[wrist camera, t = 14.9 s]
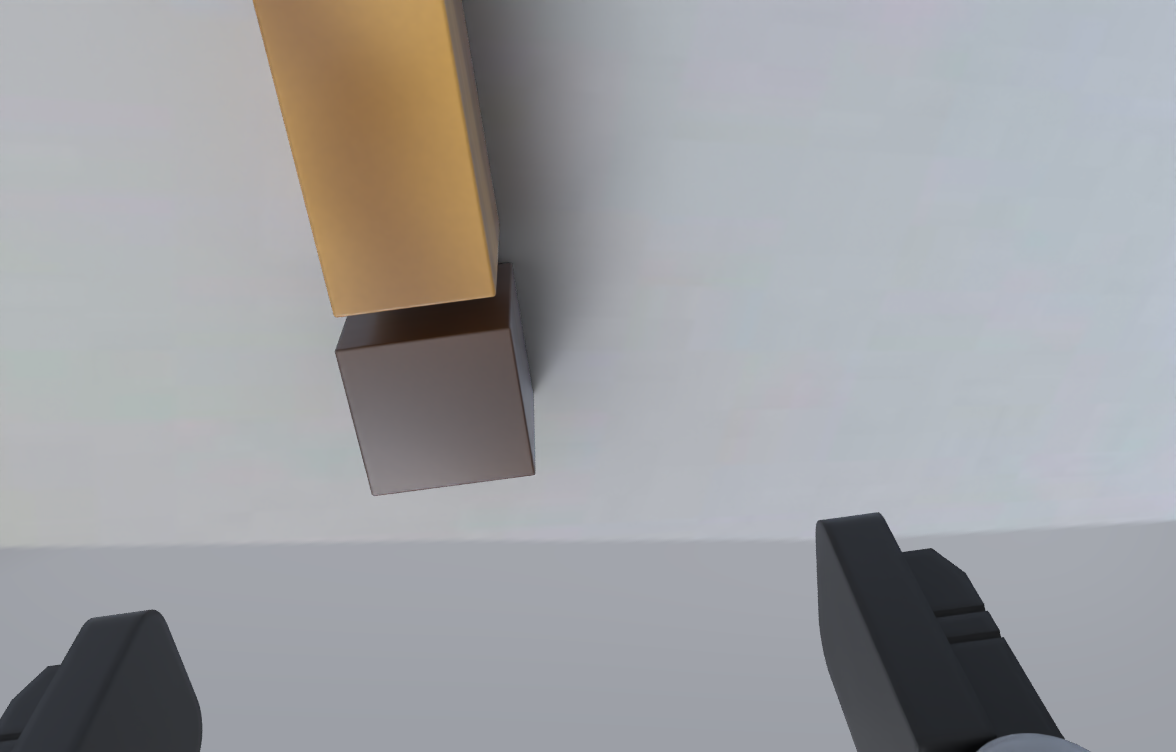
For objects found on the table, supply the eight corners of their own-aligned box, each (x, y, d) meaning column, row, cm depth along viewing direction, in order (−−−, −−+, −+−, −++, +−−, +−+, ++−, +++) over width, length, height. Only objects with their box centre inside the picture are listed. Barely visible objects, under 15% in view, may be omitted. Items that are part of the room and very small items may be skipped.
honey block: (449, -75, 26) (435, -53, 22) (500, 227, 30) (496, 297, 26) (291, -54, 26) (244, -28, 22) (361, 245, 30) (334, 319, 26)
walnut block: (534, 396, 33) (535, 475, 29) (390, 415, 33) (372, 497, 29) (512, 261, 31) (510, 327, 27) (358, 281, 31) (333, 350, 27)
